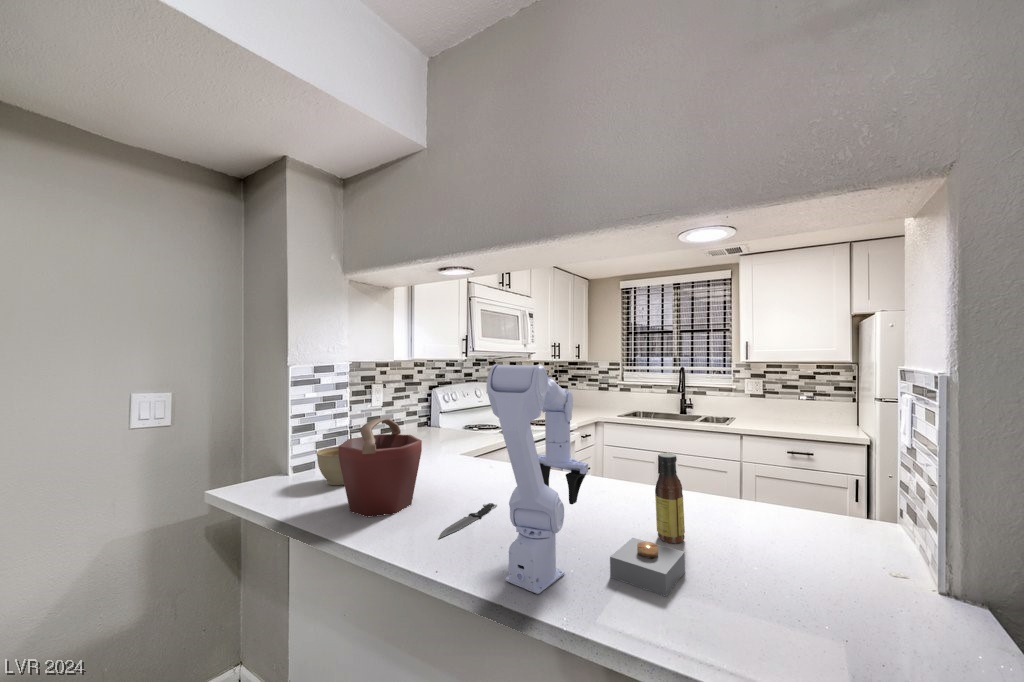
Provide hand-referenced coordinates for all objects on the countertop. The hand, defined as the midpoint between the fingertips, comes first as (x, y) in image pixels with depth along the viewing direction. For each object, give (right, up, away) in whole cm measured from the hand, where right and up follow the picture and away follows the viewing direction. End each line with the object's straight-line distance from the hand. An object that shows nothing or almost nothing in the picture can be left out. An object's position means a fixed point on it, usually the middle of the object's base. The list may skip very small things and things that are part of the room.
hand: (558, 499), depth 101 cm
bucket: (-49, -12, +26) cm, 57 cm away
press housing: (+16, -10, -14) cm, 23 cm away
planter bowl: (-69, -12, +49) cm, 86 cm away
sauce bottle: (+27, -11, +3) cm, 29 cm away
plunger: (+16, -10, -14) cm, 24 cm away
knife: (-22, -11, +15) cm, 29 cm away
